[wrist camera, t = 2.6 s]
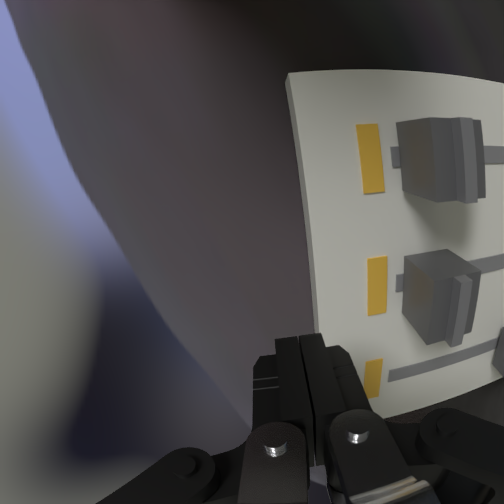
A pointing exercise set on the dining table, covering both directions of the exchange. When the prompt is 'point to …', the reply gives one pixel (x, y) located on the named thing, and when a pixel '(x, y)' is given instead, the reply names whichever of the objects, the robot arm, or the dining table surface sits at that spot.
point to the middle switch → (440, 295)
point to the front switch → (442, 159)
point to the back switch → (499, 355)
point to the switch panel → (394, 227)
